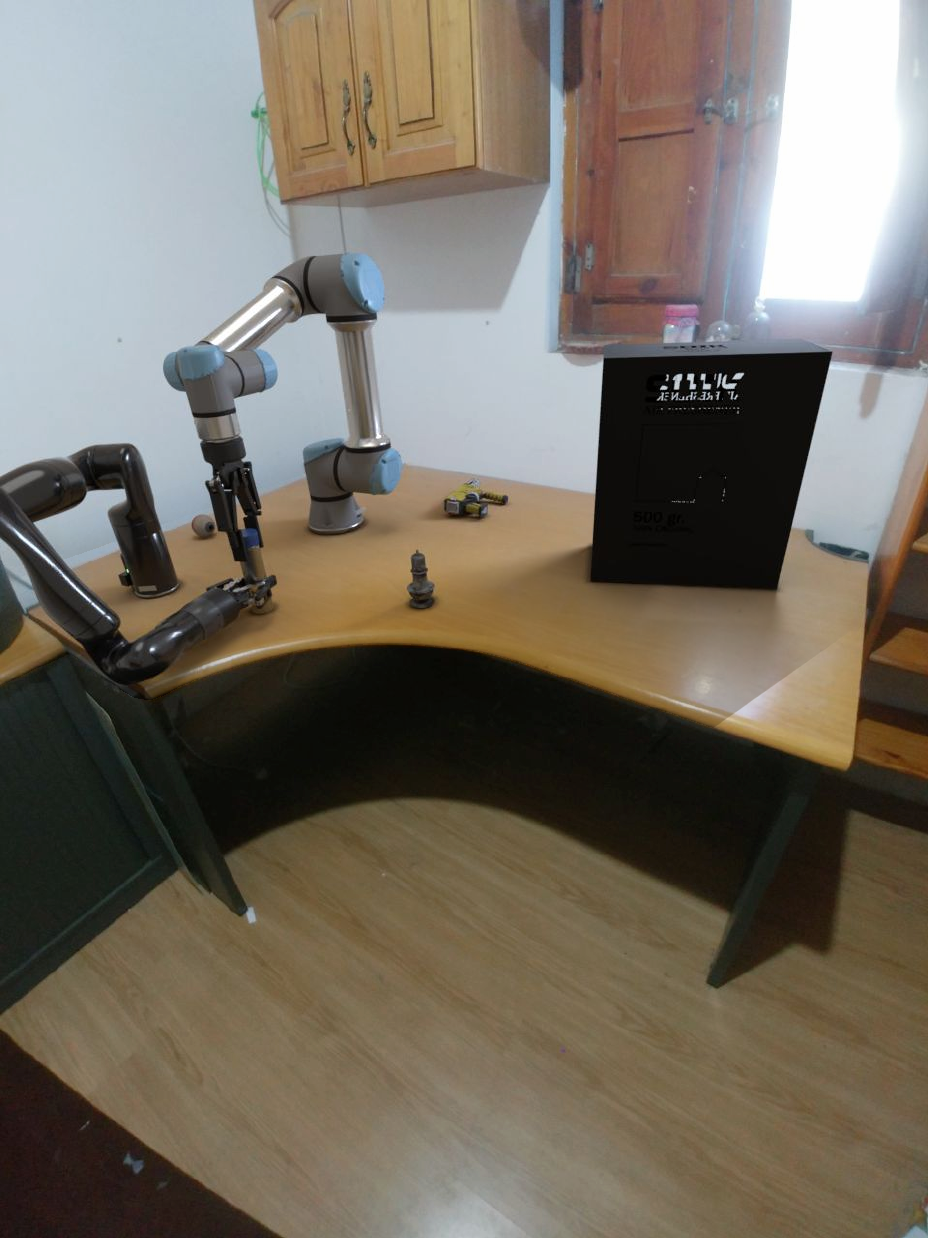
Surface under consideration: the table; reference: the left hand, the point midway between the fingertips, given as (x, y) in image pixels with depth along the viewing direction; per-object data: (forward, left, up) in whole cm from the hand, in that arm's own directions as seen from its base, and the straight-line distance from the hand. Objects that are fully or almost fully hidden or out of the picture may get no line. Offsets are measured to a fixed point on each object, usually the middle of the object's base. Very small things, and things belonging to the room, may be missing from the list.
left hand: (265, 577), depth 127 cm
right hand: (0, -3, +7) cm, 7 cm away
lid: (0, -3, +11) cm, 11 cm away
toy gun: (+22, +70, -6) cm, 73 cm away
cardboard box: (+79, +43, -6) cm, 91 cm away
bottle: (0, -3, -6) cm, 7 cm away
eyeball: (-43, +27, -6) cm, 51 cm away
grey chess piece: (+32, +10, -6) cm, 34 cm away
